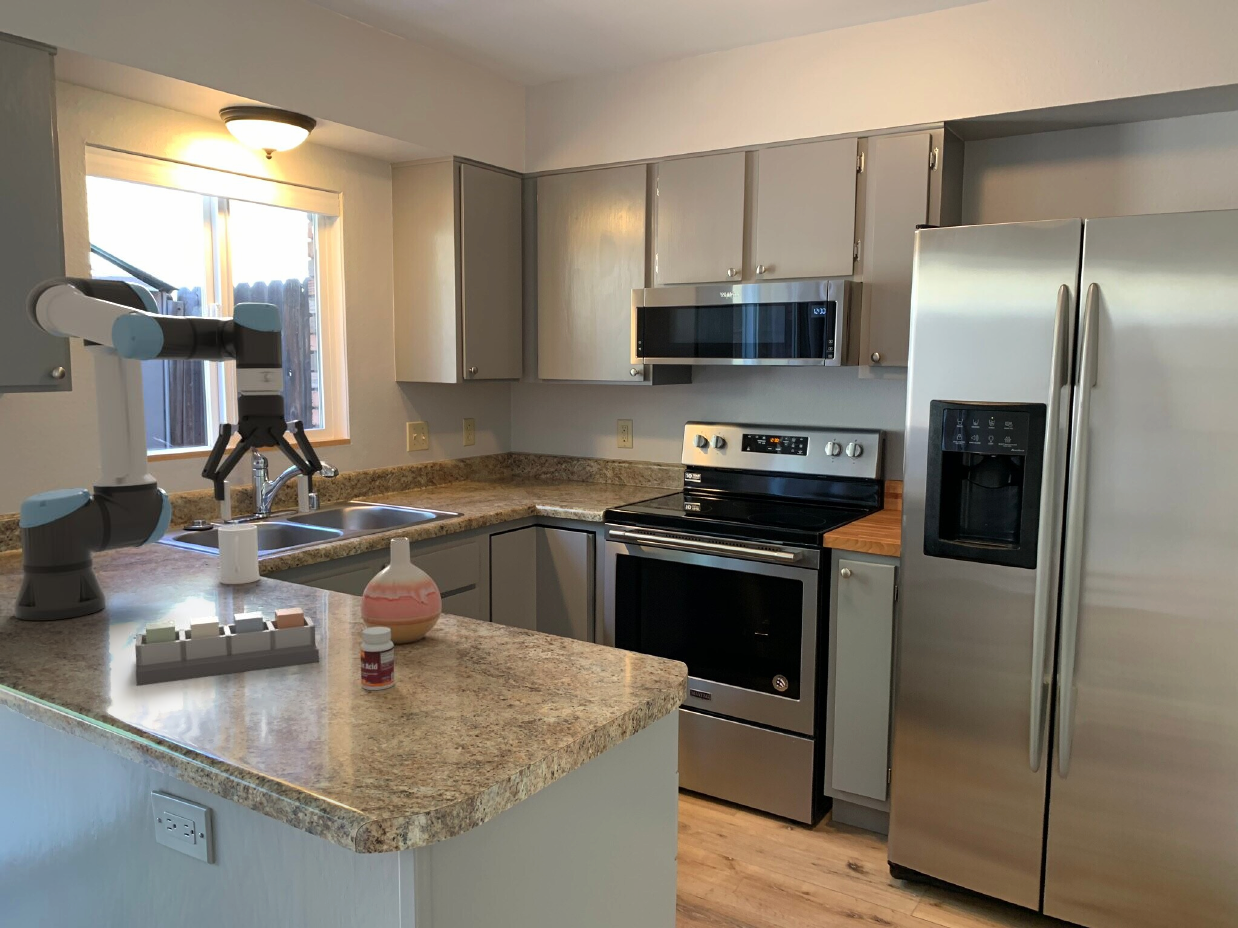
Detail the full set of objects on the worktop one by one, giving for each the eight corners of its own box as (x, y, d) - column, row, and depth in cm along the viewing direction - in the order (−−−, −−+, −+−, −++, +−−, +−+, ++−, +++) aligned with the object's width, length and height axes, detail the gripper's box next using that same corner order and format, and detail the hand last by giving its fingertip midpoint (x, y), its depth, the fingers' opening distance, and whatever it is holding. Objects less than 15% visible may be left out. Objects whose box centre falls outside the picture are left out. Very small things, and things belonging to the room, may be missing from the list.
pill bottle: (354, 687, 137) (352, 631, 137) (378, 678, 141) (377, 624, 141) (377, 693, 135) (376, 636, 134) (401, 683, 139) (400, 628, 138)
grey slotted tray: (136, 685, 138) (134, 652, 138) (138, 659, 151) (136, 629, 150) (319, 661, 150) (318, 630, 149) (306, 639, 162) (305, 611, 162)
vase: (414, 653, 154) (412, 548, 152) (345, 645, 159) (341, 543, 157) (456, 632, 167) (455, 534, 165) (391, 625, 171) (388, 530, 170)
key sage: (146, 648, 143) (145, 629, 143) (147, 642, 147) (146, 623, 146) (175, 645, 145) (174, 626, 145) (175, 638, 149) (174, 620, 148)
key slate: (236, 638, 149) (235, 619, 148) (234, 632, 152) (233, 614, 152) (263, 635, 151) (262, 617, 150) (260, 629, 154) (260, 611, 154)
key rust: (278, 633, 152) (277, 615, 151) (275, 627, 155) (274, 609, 155) (304, 630, 153) (303, 612, 153) (300, 624, 157) (300, 607, 157)
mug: (253, 586, 204) (251, 532, 202) (212, 588, 202) (209, 533, 201) (263, 575, 215) (261, 523, 214) (223, 577, 213) (221, 525, 212)
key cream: (191, 643, 146) (190, 624, 146) (190, 637, 150) (190, 618, 149) (219, 640, 148) (218, 621, 147) (218, 634, 151) (217, 615, 151)
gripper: (192, 395, 151) (198, 525, 153) (338, 392, 167) (342, 510, 169) (177, 395, 157) (184, 520, 158) (320, 392, 173) (325, 506, 175)
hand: (266, 515), depth 164 cm, fingers open, 13 cm apart
